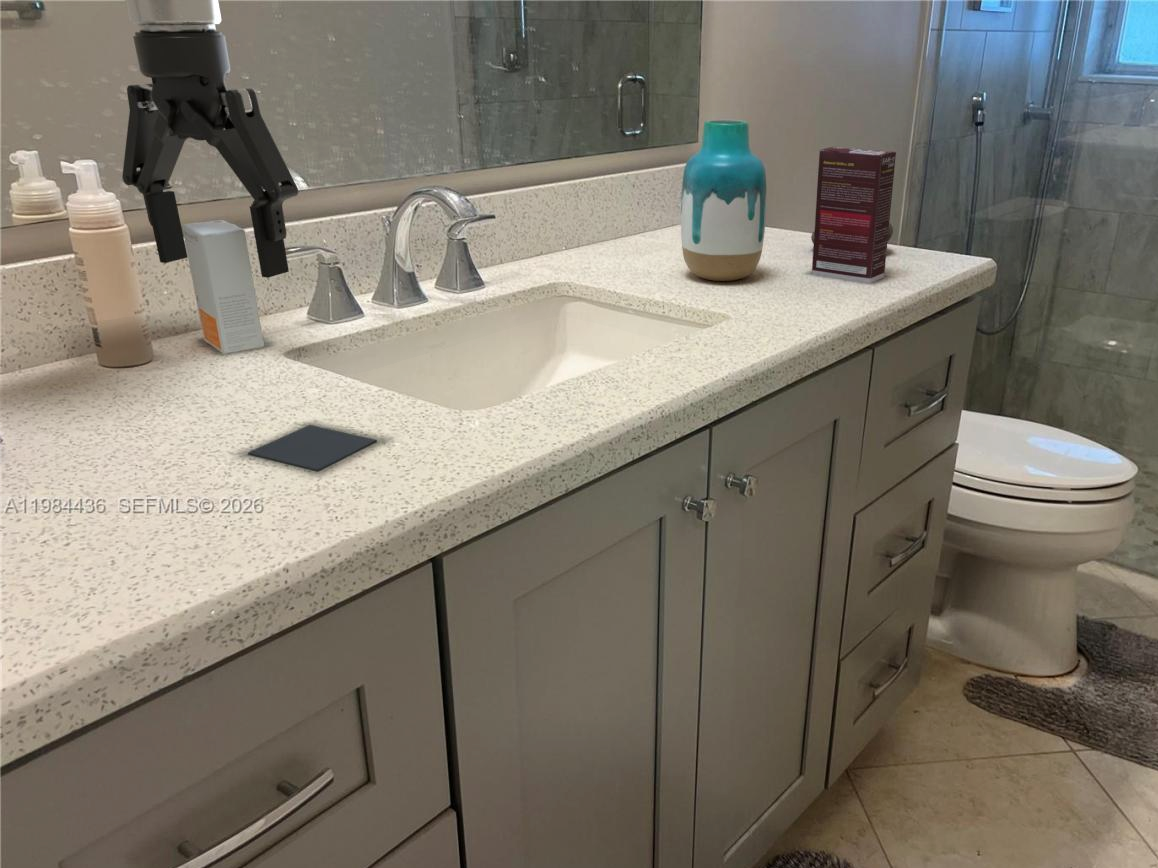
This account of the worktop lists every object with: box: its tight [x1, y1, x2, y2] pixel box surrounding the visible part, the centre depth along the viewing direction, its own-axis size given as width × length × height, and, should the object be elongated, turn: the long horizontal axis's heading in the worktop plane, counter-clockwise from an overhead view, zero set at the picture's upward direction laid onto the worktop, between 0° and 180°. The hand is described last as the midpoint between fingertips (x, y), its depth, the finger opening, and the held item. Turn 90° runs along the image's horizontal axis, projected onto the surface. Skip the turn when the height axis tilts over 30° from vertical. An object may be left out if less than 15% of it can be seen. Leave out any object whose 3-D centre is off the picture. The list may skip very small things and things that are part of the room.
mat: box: [247, 424, 378, 473], centre depth 81 cm, size 7×7×1 cm
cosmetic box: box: [181, 219, 265, 355], centre depth 102 cm, size 6×4×12 cm
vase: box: [680, 118, 767, 282], centre depth 129 cm, size 11×11×19 cm
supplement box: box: [811, 146, 897, 284], centre depth 132 cm, size 9×5×16 cm, turn 56°
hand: (223, 267), depth 102 cm, fingers open, 13 cm apart
